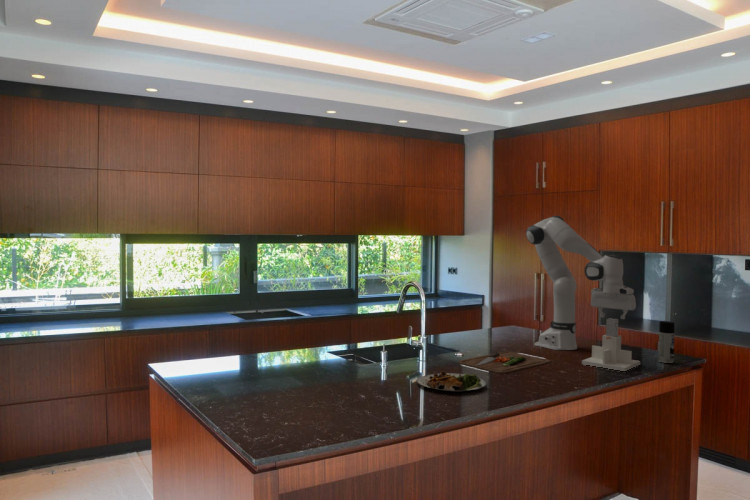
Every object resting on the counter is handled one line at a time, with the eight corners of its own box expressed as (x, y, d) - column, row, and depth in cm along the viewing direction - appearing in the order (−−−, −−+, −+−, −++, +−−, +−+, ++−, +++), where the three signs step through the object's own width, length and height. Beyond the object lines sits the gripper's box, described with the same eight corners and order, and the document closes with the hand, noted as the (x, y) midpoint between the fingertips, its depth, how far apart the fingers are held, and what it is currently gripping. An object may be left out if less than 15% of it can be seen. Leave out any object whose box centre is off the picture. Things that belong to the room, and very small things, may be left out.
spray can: (672, 365, 276) (673, 323, 275) (656, 362, 280) (658, 322, 279) (674, 362, 281) (676, 321, 280) (659, 360, 285) (660, 320, 284)
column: (605, 356, 273) (606, 319, 273) (608, 355, 276) (609, 318, 276) (614, 358, 271) (615, 320, 270) (617, 356, 274) (618, 319, 273)
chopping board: (497, 376, 251) (498, 369, 251) (452, 364, 271) (452, 358, 271) (555, 362, 280) (555, 356, 280) (510, 352, 300) (510, 347, 300)
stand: (581, 364, 273) (582, 335, 273) (598, 358, 288) (599, 330, 287) (624, 372, 260) (625, 341, 259) (640, 365, 274) (641, 336, 274)
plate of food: (499, 386, 233) (499, 371, 233) (457, 399, 214) (457, 383, 214) (445, 375, 253) (445, 362, 253) (402, 386, 234) (402, 371, 234)
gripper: (588, 288, 277) (588, 316, 278) (632, 291, 263) (632, 321, 264) (593, 287, 282) (593, 315, 282) (637, 290, 268) (636, 319, 268)
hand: (612, 318), depth 273 cm, fingers open, 8 cm apart
